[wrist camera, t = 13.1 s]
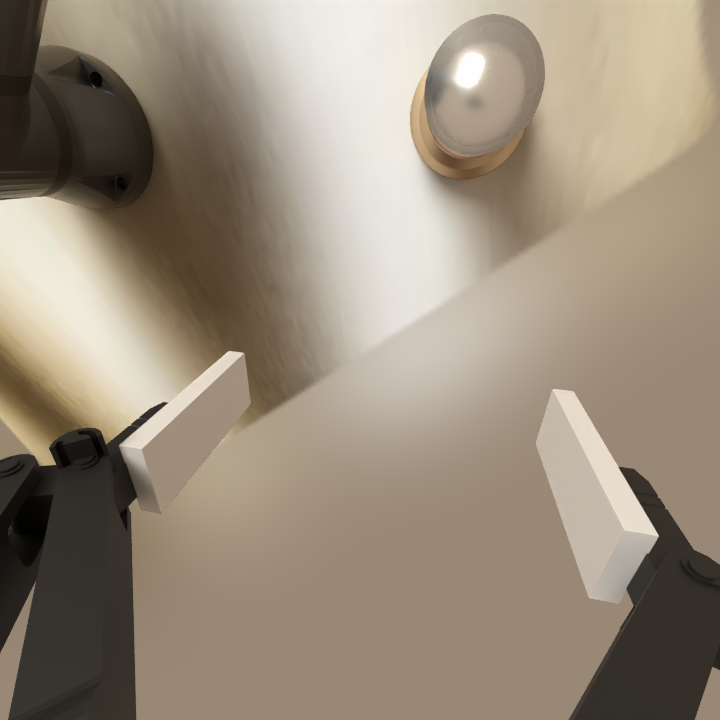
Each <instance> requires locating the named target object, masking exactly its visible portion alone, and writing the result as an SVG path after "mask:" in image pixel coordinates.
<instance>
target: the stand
mask: <svg viewBox="0 0 720 720" xmlns="http://www.w3.org/2000/svg"><path fill="white" fill-rule="evenodd" d="M429 68H430V67H429ZM429 68H428V69H427V71H426V72H425V74H424V75H423V77H422V78H421V80H420V82H419V84H418V86H417V89H416V91H415V94H414V97H413V101H412V106H411V113H410V126H411V134H412V138H413V142H414V145H415V147H416V149H417V151H418V153H419V155H420V157H421V158H422V160H423V161H424V162H425V163H426V164H427V165H428V166H429V167H430V168H431V169H432V170H434V171H435V172H437V173H439V174H441V175H443V176H445V177H449V178H453V179H470V178H475V177H478V176H481V175H484V174H486V173H488V172H490V171H492V170H493V169H495V168H496V167H498V166H499V165H500V164H501V163H503V162H504V161H505V160H506V159H507V158H508V157H509V156H510V155H511V153H512V152H513V151H514V150H515V148H516V147H517V145H518V144H519V142H520V140H521V138H522V136H523V134H524V132H525V129H526V127H527V126H526V127H525V128H524V129H523V131H522V132H521V133H520V134H519V135H518V136H517V137H516V138H515V139H513V140H512V141H511V142H510V143H508V144H506V145H505V146H503V147H502V148H499V149H497V150H495V151H493V152H491V153H489V154H487V155H484V156H481V157H478V158H473V159H466V160H462V159H456V158H452V157H450V156H448V155H447V154H445V153H444V152H443V151H441V149H440V148H439V147H438V146H437V144H436V143H435V141H434V139H433V137H432V135H431V132H430V128H429V125H428V121H427V116H426V110H425V101H424V93H425V83H426V78H427V74H428V71H429Z"/></svg>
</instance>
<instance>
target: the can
mask: <svg viewBox="0 0 720 720" xmlns="http://www.w3.org/2000/svg"><path fill="white" fill-rule="evenodd" d="M544 79H545V67H544V59H543V54H542V51H541V48H540V45H539V43H538V41H537V39H536V37H535V36H534V35H533V33H532V32H531V31H530V29H528V28H527V27H526V26H525V25H524V24H523V23H521V22H520V21H518V20H516V19H514V18H512V17H509V16H505V15H497V14H492V15H484V16H481V17H477V18H475V19H472V20H470V21H468V22H466V23H465V24H463V25H461V26H460V27H459V28H457V29H456V30H455V31H454V32H453V33H452V34H451V35H450V36H449V37H448V38H447V39H446V40H445V41H444V42H443V44H442V45H441V46H440V48H439V49H438V51H437V53H436V54H435V56H434V58H433V60H432V62H431V65H430V68H429V71H428V74H427V78H426V83H425V93H424V101H425V110H426V116H427V121H428V125H429V128H430V132H431V135H432V137H433V139H434V141H435V143H436V144H437V146H438V147H439V148H440V149H441V151H443V152H444V153H445V154H447V155H448V156H450V157H452V158H456V159H462V160H466V159H473V158H478V157H481V156H484V155H487V154H489V153H491V152H493V151H495V150H497V149H499V148H502V147H503V146H505V145H506V144H508V143H510V142H511V141H512V140H513V139H515V138H516V137H517V136H518V135H519V134H520V133H521V132H522V131H523V129H524V128H525V127H526V126H527V124H528V123H529V121H530V120H531V118H532V117H533V115H534V113H535V111H536V109H537V107H538V104H539V102H540V99H541V95H542V92H543V86H544Z"/></svg>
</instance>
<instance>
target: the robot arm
mask: <svg viewBox="0 0 720 720" xmlns="http://www.w3.org/2000/svg"><path fill="white" fill-rule="evenodd" d="M47 1H48V0H0V200H7V199H19V198H30V197H41V196H46V197H50V198H53V199H57V200H61V201H64V202H68V203H72V204H75V205H79V206H83V207H86V208H93V209H107V208H116V207H121V206H125V205H127V204H129V203H131V202H133V201H134V200H135V199H137V198H138V197H139V196H140V195H141V193H142V192H143V190H144V189H145V187H146V185H147V183H148V180H149V177H150V174H151V168H152V143H151V137H150V133H149V129H148V125H147V122H146V119H145V117H144V114H143V112H142V110H141V107H140V105H139V104H138V102H137V100H136V98H135V96H134V95H133V93H132V92H131V90H130V89H129V88H128V86H127V85H126V84H125V82H124V81H123V80H122V79H121V78H120V77H119V76H118V75H117V74H116V73H115V72H114V71H113V70H112V69H111V68H110V67H109V66H107V65H106V64H105V63H103V62H102V61H100V60H98V59H97V58H95V57H93V56H91V55H88V54H85V53H82V52H79V51H76V50H73V49H70V48H66V47H62V46H52V45H48V46H39V43H40V38H41V32H42V27H43V22H44V17H45V12H46V6H47ZM250 404H251V401H250V393H249V385H248V377H247V369H246V362H245V354H244V353H241V352H233V351H228V352H227V353H226V354H225V355H223V356H222V357H221V358H220V359H219V360H218V361H217V362H215V363H214V364H213V365H212V366H211V367H210V368H208V369H207V370H206V371H205V372H204V373H203V374H201V375H200V376H199V377H198V378H197V379H196V380H194V381H193V382H192V383H191V384H190V385H189V386H187V387H186V388H185V389H184V390H183V391H182V392H180V393H179V394H178V395H177V396H176V397H175V398H173V399H172V400H171V401H170V402H169V403H166V402H163V403H161V404H159V405H157V406H155V407H153V408H151V409H149V410H148V411H147V412H145V413H144V414H143V415H142V416H141V417H140V418H139V419H137V420H136V421H134V422H133V423H132V424H131V426H128V427H127V428H126V429H125V430H124V431H122V432H121V433H120V434H119V435H117V436H116V437H115V438H114V439H113V440H111V441H110V442H109V443H108V444H107V445H106V444H105V441H104V438H103V436H102V433H101V431H100V430H98V429H96V428H83V429H77V430H74V431H71V432H68V433H66V434H64V435H62V436H60V437H59V438H58V439H56V440H55V441H54V442H53V443H52V444H51V446H50V447H49V449H50V451H51V454H52V456H53V458H54V460H55V462H56V465H50V466H39V464H38V462H37V460H36V458H35V456H33V455H30V454H20V455H15V456H10V457H8V458H5V459H2V460H0V652H1V650H2V648H3V646H4V644H5V642H6V640H7V638H8V636H9V634H10V632H11V630H12V628H13V626H14V624H15V622H16V620H17V618H18V616H19V614H20V612H21V610H22V607H23V606H24V604H25V602H26V600H27V597H28V595H29V593H30V591H31V589H32V587H33V585H34V583H35V581H36V584H35V590H34V595H33V599H32V604H31V609H30V614H29V619H28V624H27V629H26V634H25V640H24V644H23V649H22V654H21V659H20V664H19V669H18V674H17V679H16V684H15V688H14V694H13V698H12V703H11V708H10V713H9V718H8V720H136V696H135V695H136V693H135V655H134V616H133V581H132V580H133V578H132V543H131V542H132V540H131V512H130V510H129V507H128V506H129V505H130V504H131V503H132V502H133V501H134V500H135V498H136V497H137V500H138V503H139V506H140V509H141V510H144V511H149V512H154V513H159V514H162V513H163V512H164V510H165V509H166V508H167V507H168V506H169V504H170V503H171V502H172V501H173V499H174V498H175V497H176V496H177V494H178V493H179V492H180V491H181V489H182V488H183V487H184V486H185V484H186V483H187V482H188V481H189V479H190V478H191V477H192V476H193V475H194V473H195V472H196V471H197V470H198V468H199V467H200V466H201V465H202V463H203V462H204V461H205V460H206V459H207V457H208V456H209V455H210V454H211V452H212V451H213V450H214V449H215V447H216V446H217V445H218V444H219V442H220V441H221V440H222V439H223V438H224V436H225V435H226V434H227V433H228V431H229V430H230V429H231V428H232V426H233V425H234V424H235V423H236V421H237V420H238V419H239V418H240V417H241V415H242V414H243V413H244V412H245V410H246V409H247V408H248V407H249V405H250ZM536 446H537V448H538V452H539V454H540V457H541V460H542V463H543V466H544V469H545V472H546V475H547V478H548V481H549V483H550V486H551V489H552V492H553V495H554V498H555V501H556V504H557V507H558V510H559V512H560V516H561V518H562V521H563V524H564V527H565V530H566V533H567V536H568V539H569V541H570V545H571V548H572V550H573V553H574V556H575V559H576V562H577V565H578V568H579V571H580V574H581V577H582V579H583V582H584V585H585V588H586V591H587V594H588V597H589V598H592V599H597V600H602V601H607V602H613V603H618V604H619V603H620V601H621V600H622V598H623V596H624V594H625V593H626V591H628V594H629V596H630V598H631V600H632V603H633V605H634V607H633V608H632V610H631V611H630V613H629V615H628V616H627V618H626V620H625V621H624V623H623V624H622V626H621V627H620V631H619V632H618V634H617V636H616V638H615V639H614V641H613V643H612V645H611V646H610V648H609V650H608V652H607V653H606V655H605V657H604V659H603V661H602V662H601V664H600V666H599V667H598V669H597V671H596V673H595V675H594V676H593V678H592V680H591V682H590V683H589V685H588V687H587V689H586V690H585V692H584V694H583V696H582V697H581V699H580V701H579V703H578V704H577V706H576V708H575V710H574V712H573V713H572V715H571V717H570V718H569V720H695V717H696V714H697V711H698V708H699V705H700V702H701V699H702V696H703V693H704V690H705V687H706V684H707V681H708V678H709V675H710V672H711V669H712V667H714V668H717V669H719V670H720V565H719V564H718V563H716V562H715V561H713V560H712V559H711V558H709V557H708V556H706V555H704V554H701V553H699V552H697V551H695V550H694V549H693V548H692V546H691V545H690V543H689V542H688V540H687V539H686V538H685V536H684V534H683V533H682V531H681V530H680V528H679V527H678V525H677V524H676V522H675V521H674V519H673V518H672V516H671V515H670V513H669V512H668V510H667V509H665V506H664V504H663V503H662V501H661V500H660V498H658V495H657V494H656V492H655V490H654V489H653V487H652V486H651V484H650V483H649V482H648V481H647V480H646V479H645V478H644V477H643V476H641V475H640V474H639V473H638V472H637V471H636V470H634V469H630V468H623V467H618V466H617V464H616V463H615V461H614V459H613V458H612V456H611V454H610V452H609V451H608V449H607V447H606V446H605V444H604V442H603V441H602V439H601V437H600V436H599V434H598V432H597V431H596V429H595V427H594V425H593V424H592V422H591V420H590V419H589V417H588V415H587V414H586V412H585V410H584V409H583V407H582V405H581V404H580V402H579V400H578V398H577V397H576V395H575V393H574V392H573V391H566V390H557V389H553V390H552V393H551V396H550V399H549V402H548V406H547V409H546V412H545V415H544V419H543V422H542V425H541V428H540V431H539V435H538V438H537V441H536Z"/></svg>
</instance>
